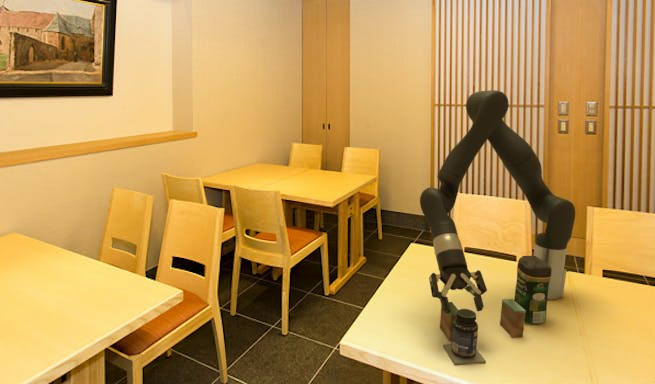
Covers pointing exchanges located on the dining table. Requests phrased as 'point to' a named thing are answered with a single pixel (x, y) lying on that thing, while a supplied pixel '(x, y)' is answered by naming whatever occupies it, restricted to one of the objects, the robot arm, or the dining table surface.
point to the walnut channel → (509, 319)
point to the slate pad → (463, 361)
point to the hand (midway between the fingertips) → (464, 311)
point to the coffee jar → (532, 288)
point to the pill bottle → (464, 334)
